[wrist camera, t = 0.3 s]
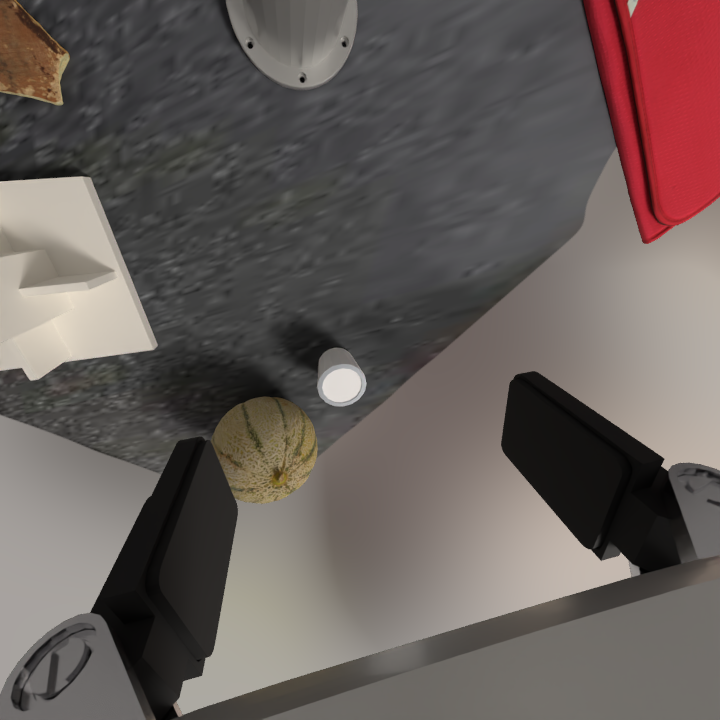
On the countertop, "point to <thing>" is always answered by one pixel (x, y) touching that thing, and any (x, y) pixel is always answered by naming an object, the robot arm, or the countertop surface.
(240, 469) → the cantaloupe
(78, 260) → the cream stand
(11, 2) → the shard
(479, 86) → the countertop surface
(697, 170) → the dish drying mat
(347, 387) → the shot glass
